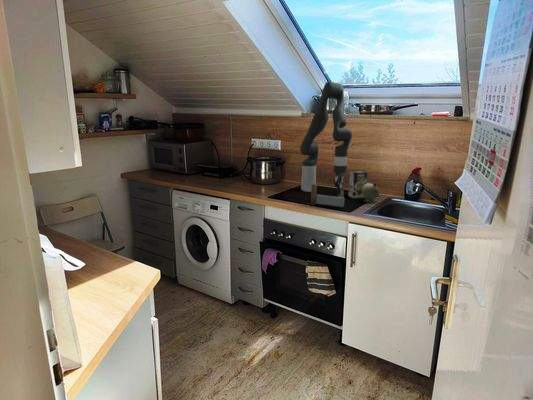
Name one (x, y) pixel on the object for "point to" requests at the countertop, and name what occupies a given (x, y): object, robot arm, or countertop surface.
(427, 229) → the countertop surface
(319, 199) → the gate
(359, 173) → the coffee box
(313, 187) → the gate frame
